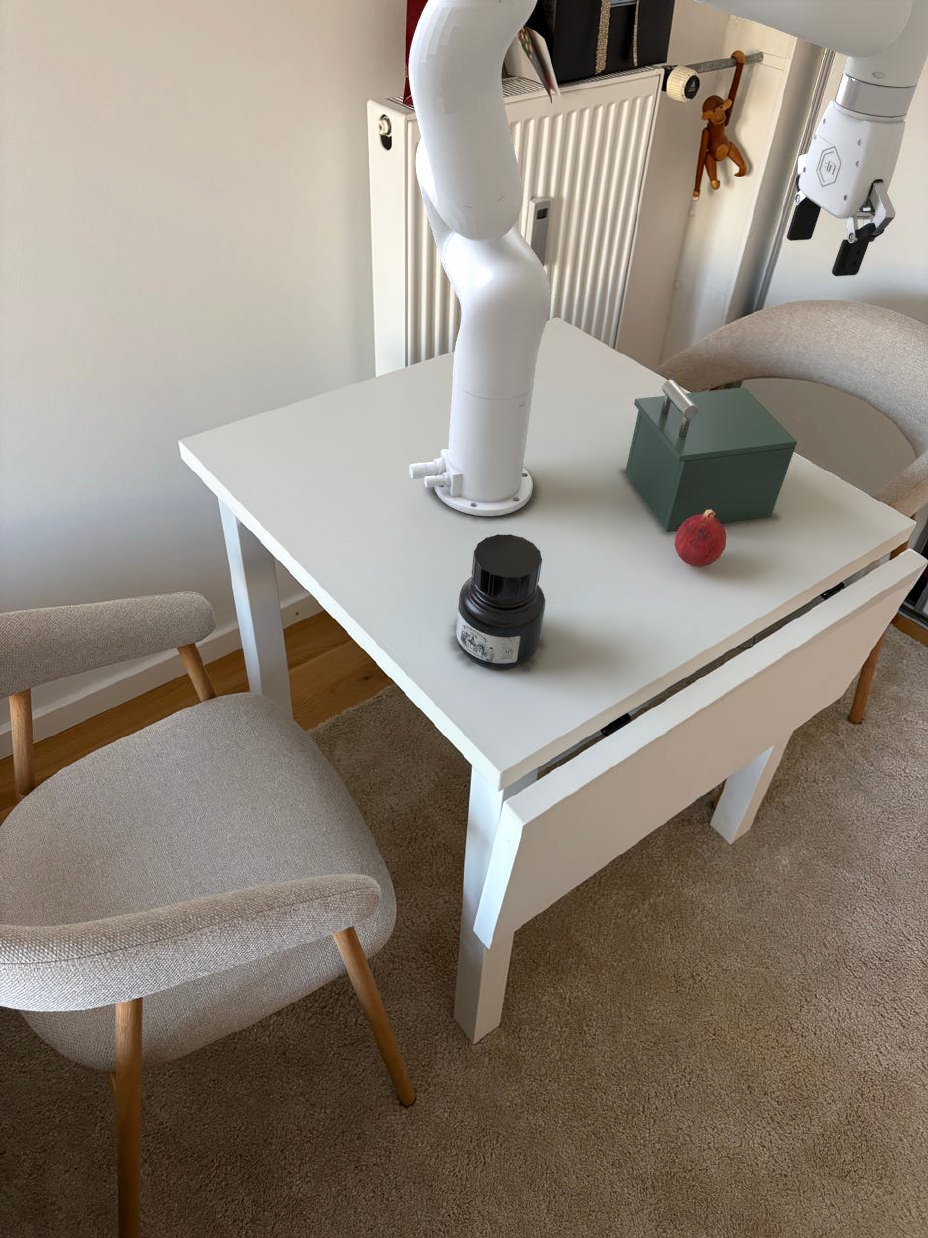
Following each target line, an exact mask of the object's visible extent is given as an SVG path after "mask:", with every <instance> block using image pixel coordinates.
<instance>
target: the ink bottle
mask: <svg viewBox="0 0 928 1238" xmlns="http://www.w3.org/2000/svg"><path fill="white" fill-rule="evenodd" d="M542 563H543V558H542V551H541V550H540V549H539V548H538V547H537V546H536V544H535V543H534V542H531V541H530V540H528V539H526V538H525V537H523V536H518V535H514V534H499V533H497V534H495V535H491V536H487V537H485V538H484V539H482V540H481V541H479V542H478V543H477V544H476V547H475V548H474V550H473V556H472V566H471V576H470V577H469V578H468V579H467V580H466V581H465V582H464V583H463V584H462V586H461V589H460V591H459V596H458V606H457V607H458V608H457V616H456V628H455V629H456V630H455V639H456V643H457V646H458V648H459V649H460V651H461V652H462V653H463V654H464V655H465V656H466V657H467V658H468V659H470V661H472V662H474V663H476V664H478V665H481V666H482V667H486V668H490V669H494V670H507V669H512V668H515V667H518V666H520V665H523V664H524V663H526V662H528V661H529V660H530V659H531V658H532V657H533V656H534V655H535V654H536V653H537V650H538V648H539V645H540V639H541V633H542V628H543V622H544V615H545V609H546V596H545V593H544V591H543V590H542V588H541V586H540V585H539V582H540V577H541V571H542Z"/></svg>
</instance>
